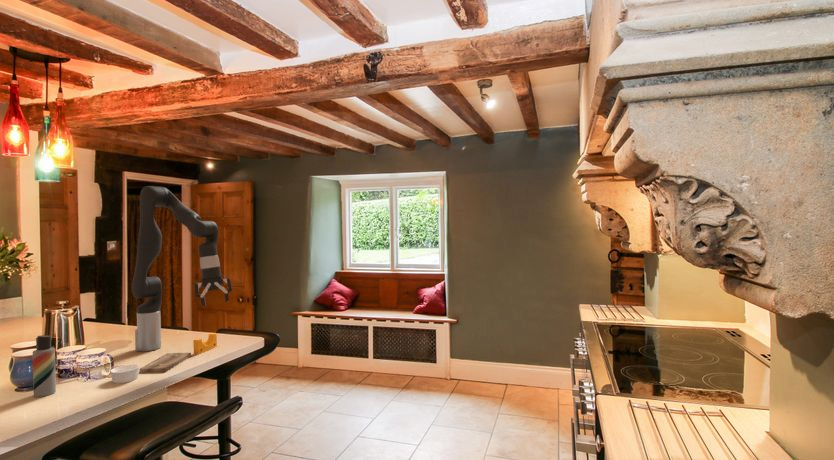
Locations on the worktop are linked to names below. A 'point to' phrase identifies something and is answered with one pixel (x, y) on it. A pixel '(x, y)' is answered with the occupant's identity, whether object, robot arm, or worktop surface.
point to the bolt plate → (165, 362)
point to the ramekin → (124, 373)
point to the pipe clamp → (205, 344)
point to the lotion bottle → (44, 367)
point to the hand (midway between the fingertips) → (215, 304)
